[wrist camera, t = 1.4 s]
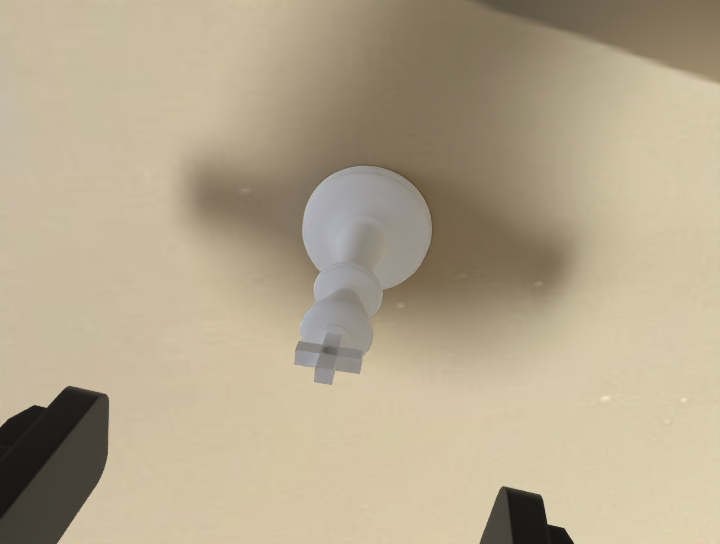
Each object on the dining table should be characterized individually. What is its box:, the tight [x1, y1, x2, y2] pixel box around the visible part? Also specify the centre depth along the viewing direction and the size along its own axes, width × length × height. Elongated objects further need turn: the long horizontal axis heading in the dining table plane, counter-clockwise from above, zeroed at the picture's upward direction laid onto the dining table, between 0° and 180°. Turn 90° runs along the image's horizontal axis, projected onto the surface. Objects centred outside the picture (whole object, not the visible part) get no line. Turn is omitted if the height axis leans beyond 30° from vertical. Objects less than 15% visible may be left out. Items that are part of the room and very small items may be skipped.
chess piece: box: [295, 166, 432, 385], centre depth 21 cm, size 5×5×10 cm
